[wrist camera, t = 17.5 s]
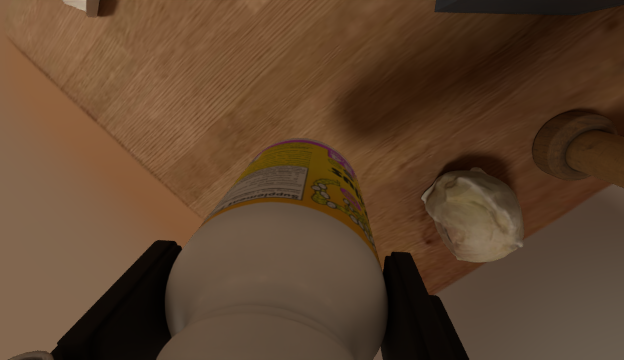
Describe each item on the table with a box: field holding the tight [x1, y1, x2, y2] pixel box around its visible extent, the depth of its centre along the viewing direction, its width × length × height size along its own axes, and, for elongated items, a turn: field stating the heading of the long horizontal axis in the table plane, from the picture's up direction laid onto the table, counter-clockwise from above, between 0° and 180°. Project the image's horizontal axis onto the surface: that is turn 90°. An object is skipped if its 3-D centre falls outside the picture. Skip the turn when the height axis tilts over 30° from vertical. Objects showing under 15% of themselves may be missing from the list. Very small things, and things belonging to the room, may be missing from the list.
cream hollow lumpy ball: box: [421, 167, 524, 262], centre depth 29 cm, size 9×8×10 cm
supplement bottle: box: [156, 138, 389, 360], centre depth 12 cm, size 7×7×13 cm
